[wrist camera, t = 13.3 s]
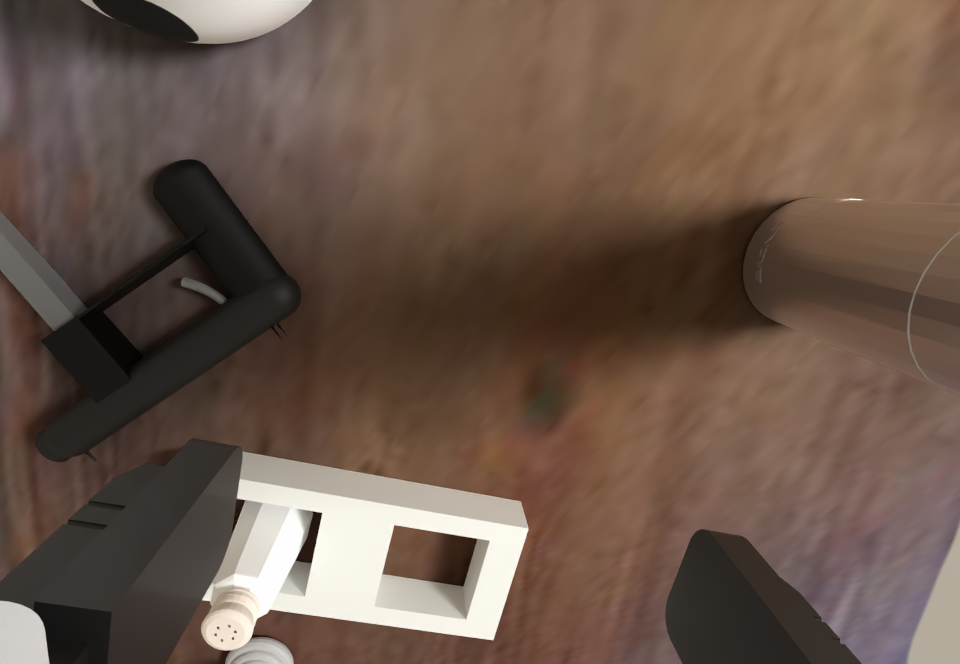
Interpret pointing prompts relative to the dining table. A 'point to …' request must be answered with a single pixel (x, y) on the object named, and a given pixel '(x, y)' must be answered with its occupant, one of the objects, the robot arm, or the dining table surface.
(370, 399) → the dining table surface
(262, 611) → the salt shaker
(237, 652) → the chess piece
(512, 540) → the rail
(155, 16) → the milk container
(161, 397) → the door handle
